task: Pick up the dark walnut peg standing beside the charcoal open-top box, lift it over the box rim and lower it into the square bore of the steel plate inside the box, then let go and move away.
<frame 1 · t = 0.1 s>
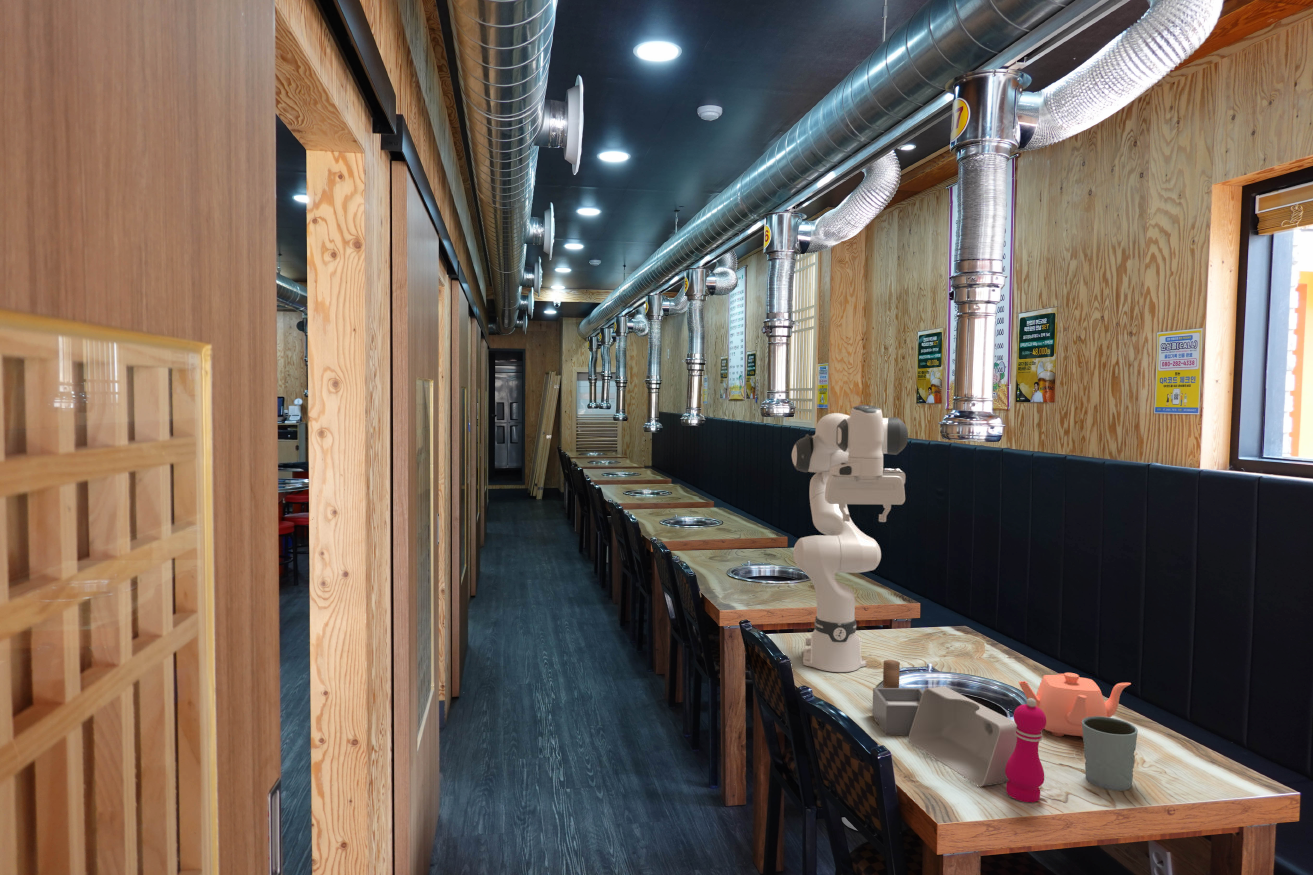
hand: (864, 521, 213), 48 cm above the table, tool pointing down, fingers open, 8 cm apart
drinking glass: (1107, 781, 172), on the table
beige storage bin: (972, 759, 183), on the table
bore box: (903, 724, 201), on the table
pepper mill: (1022, 795, 166), on the table
walnut peg: (890, 707, 212), on the table
teapot: (1072, 731, 198), on the table
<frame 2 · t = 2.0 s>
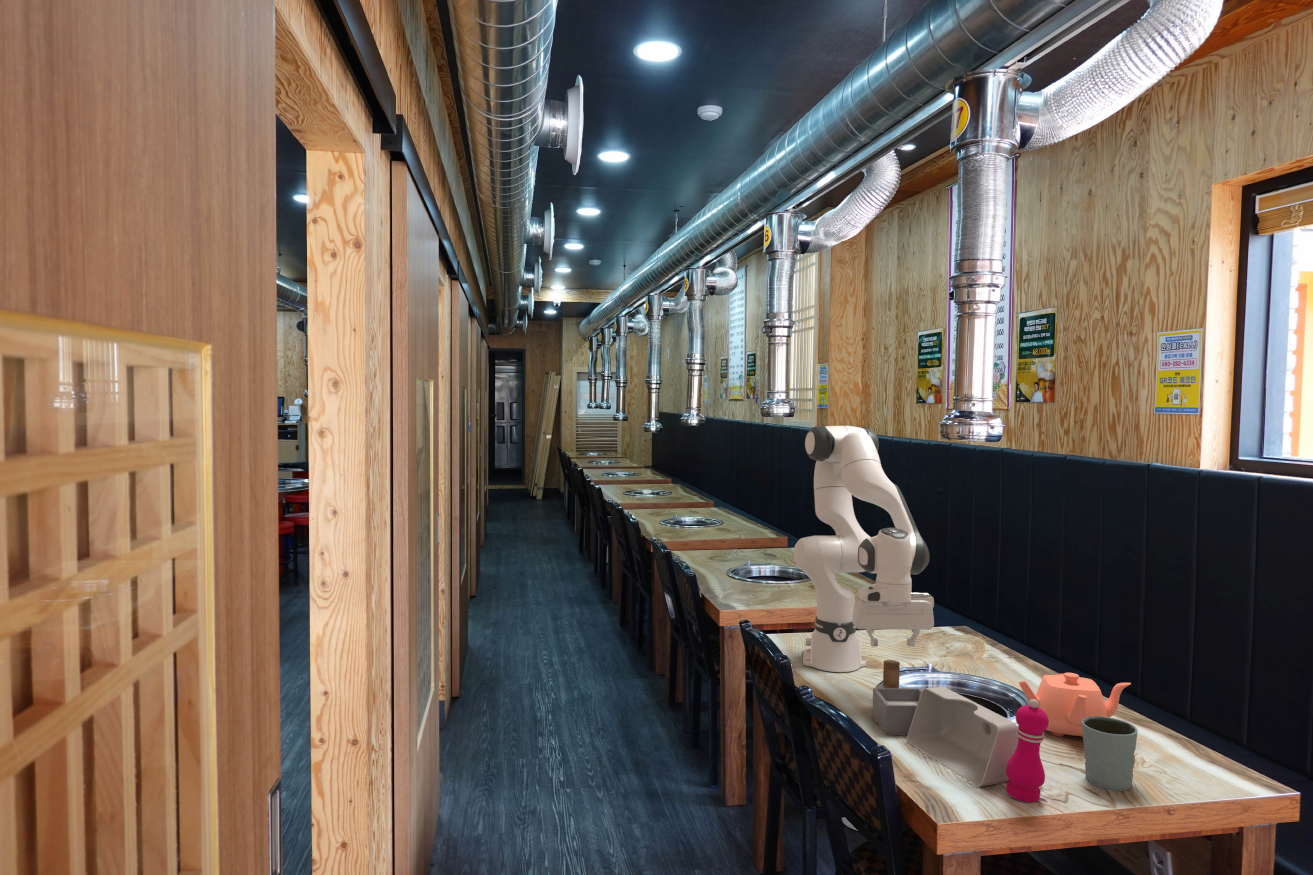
hand: (892, 645, 211), 16 cm above the table, tool pointing down, fingers open, 8 cm apart
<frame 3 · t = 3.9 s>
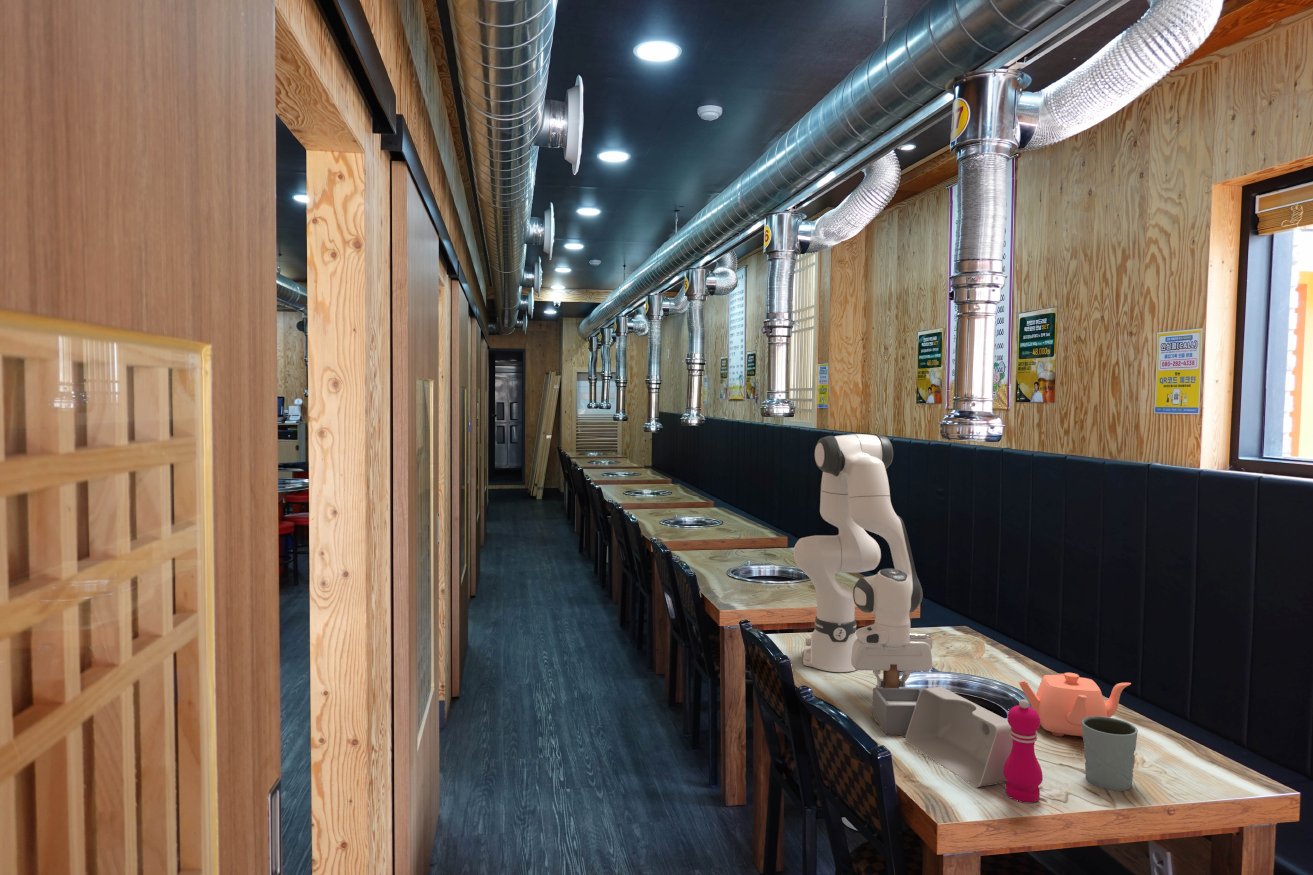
hand: (890, 686, 212), 6 cm above the table, tool pointing down, fingers closed on walnut peg, 4 cm apart
walnut peg: (890, 707, 212), on the table, touching gripper
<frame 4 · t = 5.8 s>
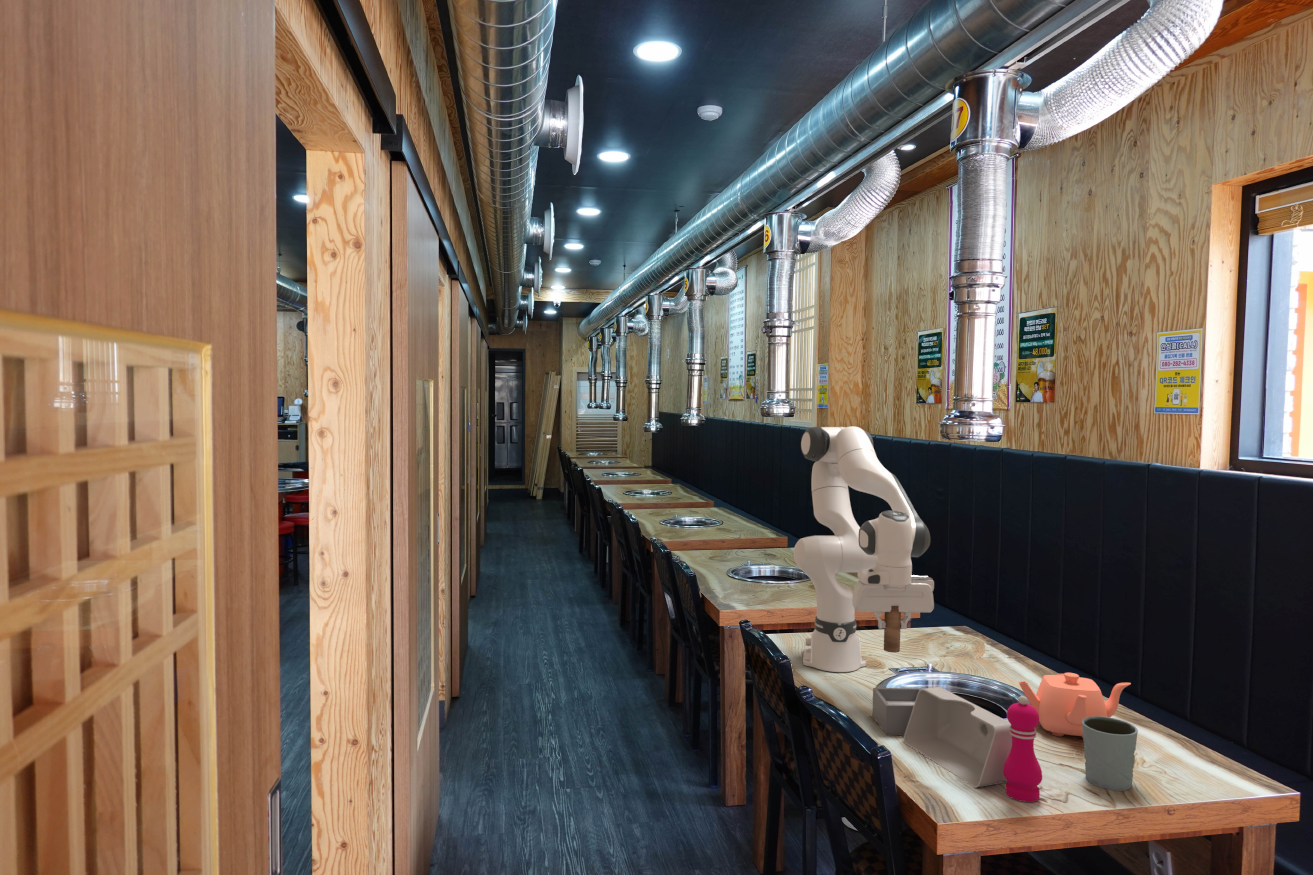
hand: (892, 628, 211), 21 cm above the table, tool pointing down, fingers closed on walnut peg, 4 cm apart
walnut peg: (891, 649, 212), point 15 cm above the table, touching gripper
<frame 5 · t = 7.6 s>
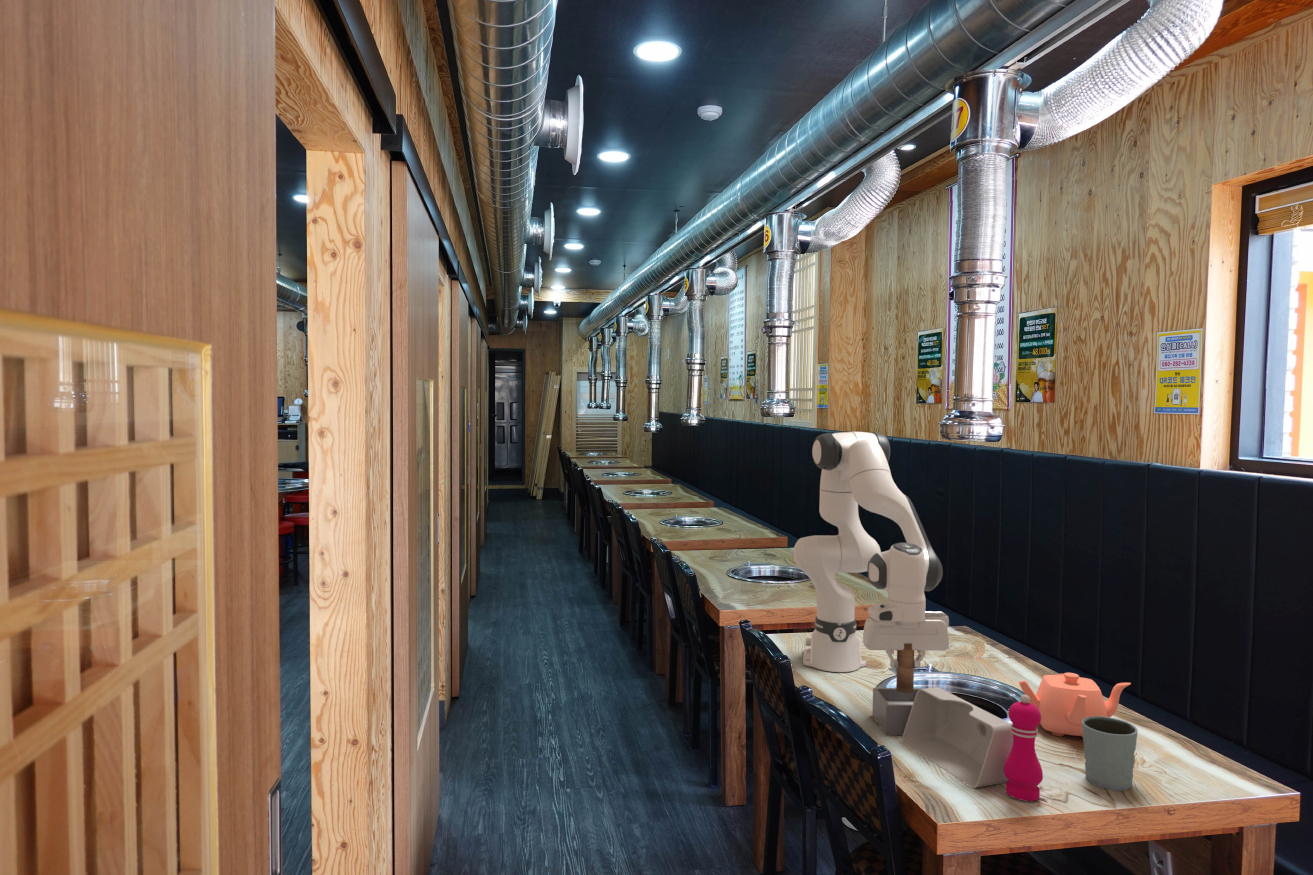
hand: (905, 667, 200), 14 cm above the table, tool pointing down, fingers closed on walnut peg, 4 cm apart
walnut peg: (904, 690, 200), point 9 cm above the table, touching gripper
when the fingers open (7 cm above the table, at t = 9.9 s): walnut peg drops 1 cm, resting in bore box.
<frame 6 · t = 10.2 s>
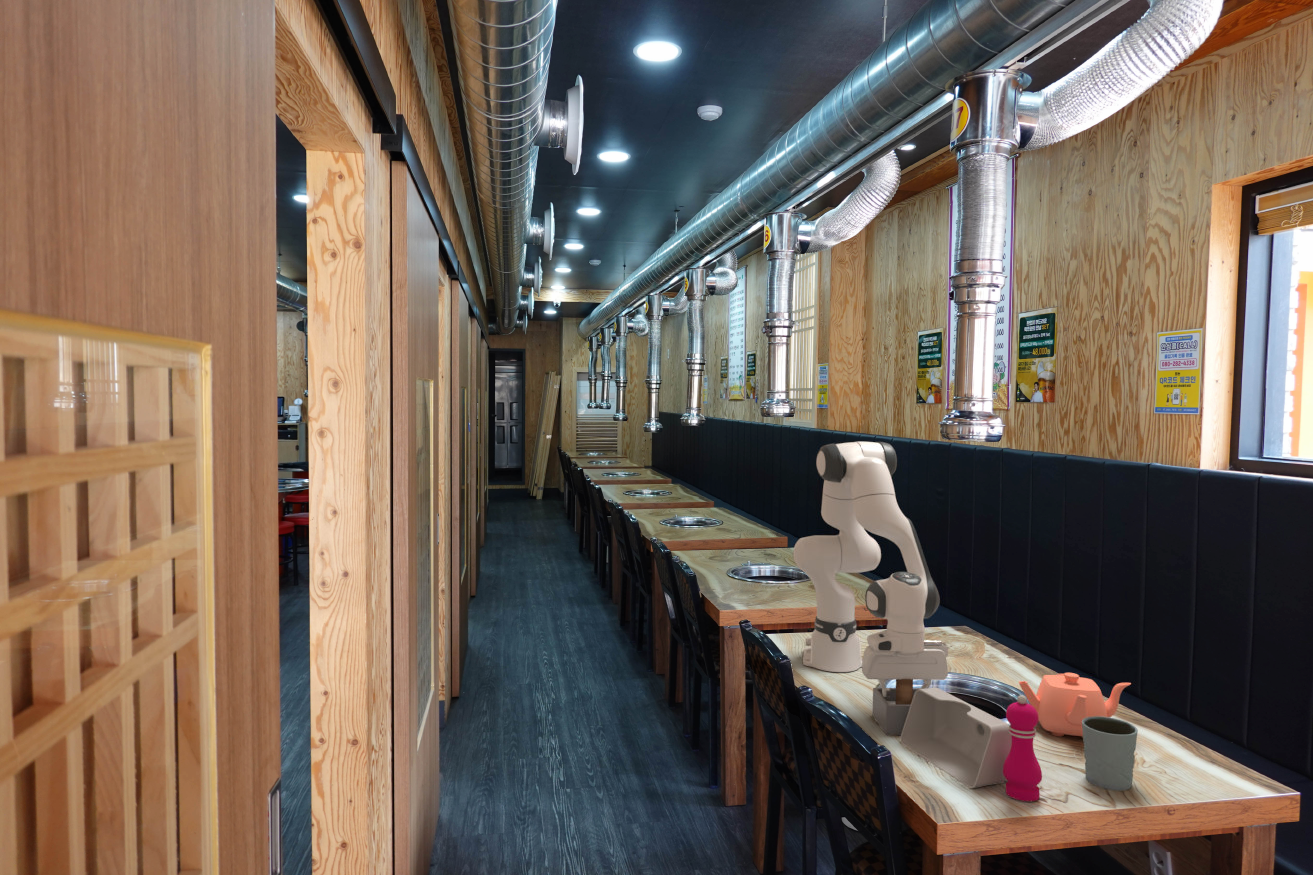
hand: (904, 696, 201), 7 cm above the table, tool pointing down, fingers open, 7 cm apart
walnut peg: (903, 724, 201), resting in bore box
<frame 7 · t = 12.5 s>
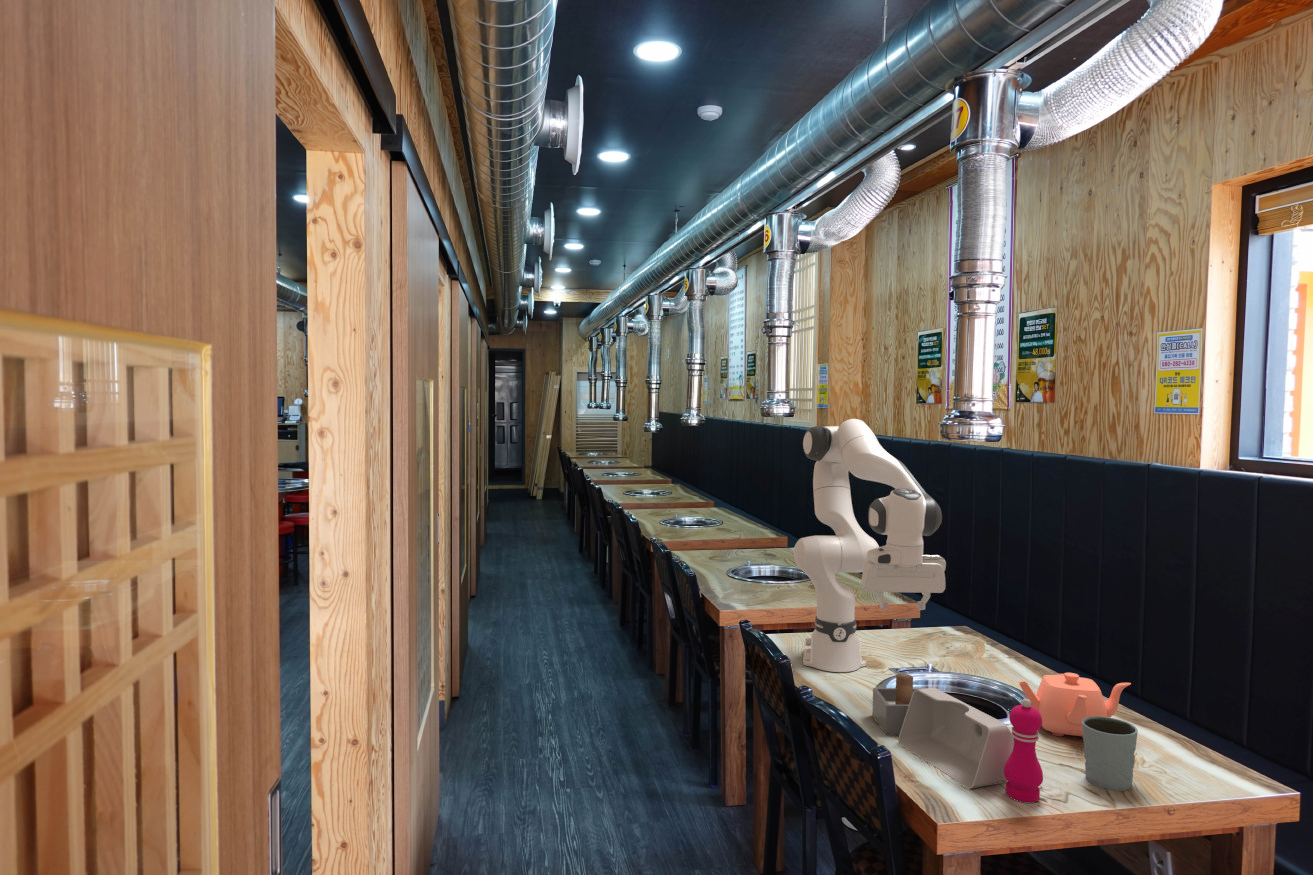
hand: (902, 608, 206), 27 cm above the table, tool pointing down, fingers open, 8 cm apart
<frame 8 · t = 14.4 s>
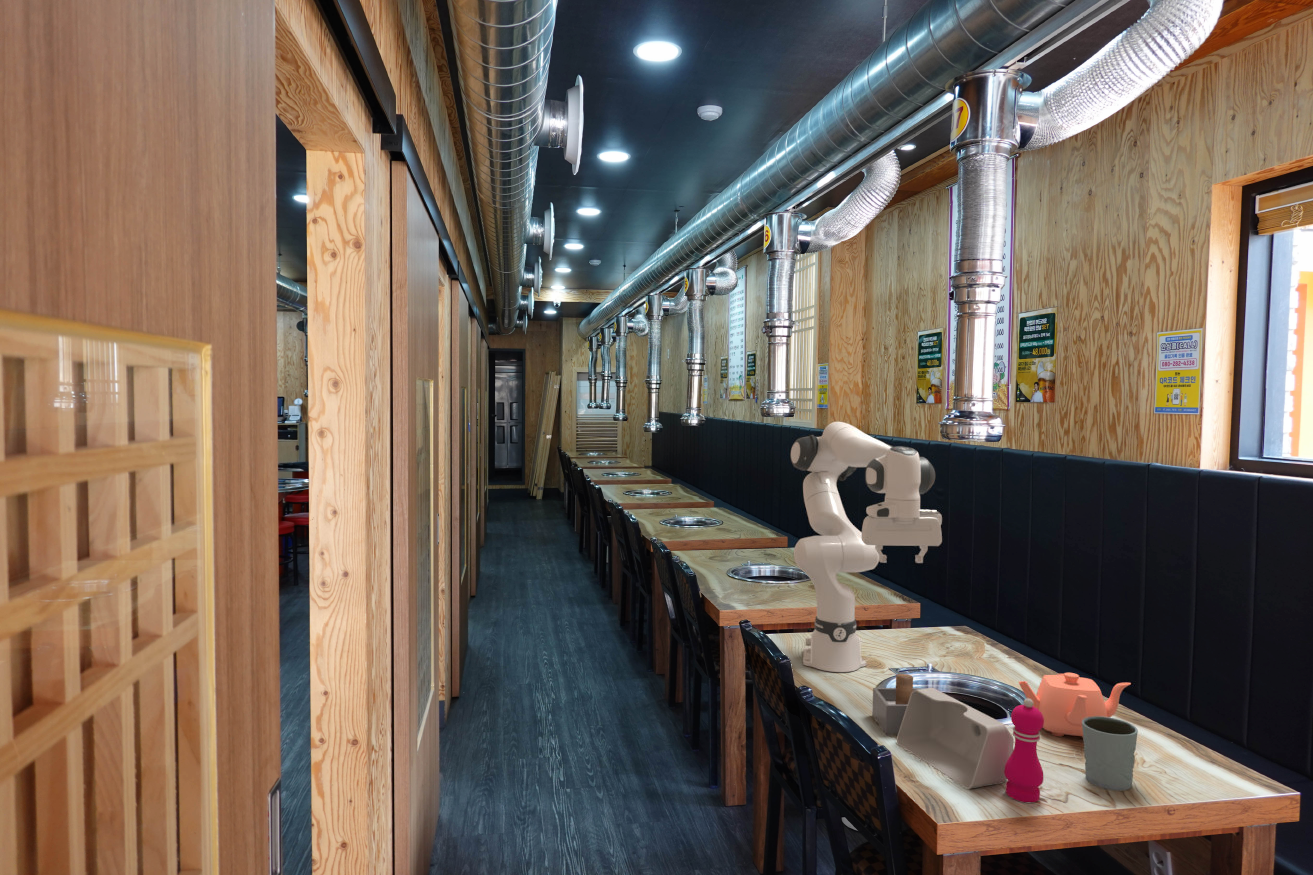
hand: (900, 562, 214), 37 cm above the table, tool pointing down, fingers open, 8 cm apart
at the end: walnut peg 0.0 cm off-centre on the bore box, point 0.0 cm above the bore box's base; walnut peg tilted 0°; the gripper is holding nothing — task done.
